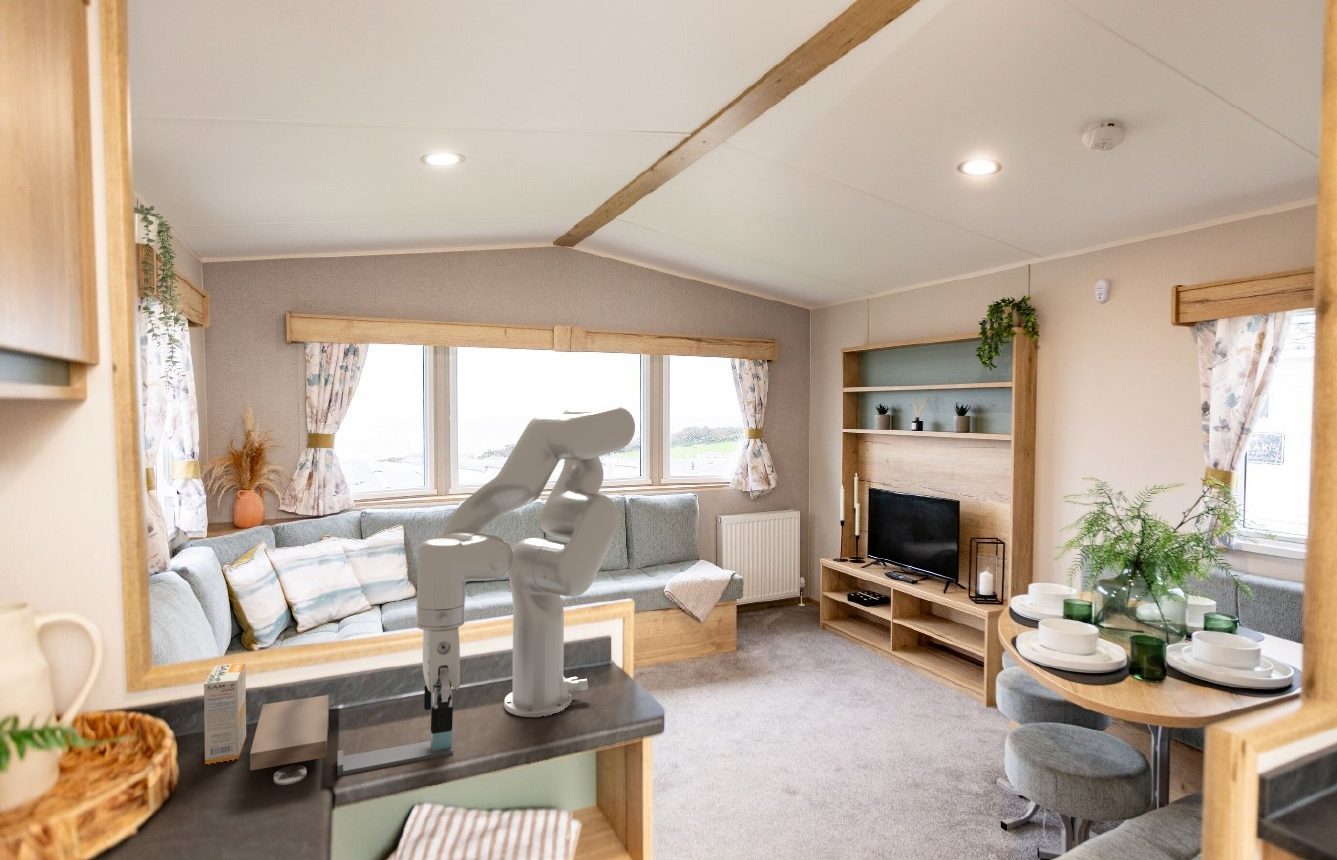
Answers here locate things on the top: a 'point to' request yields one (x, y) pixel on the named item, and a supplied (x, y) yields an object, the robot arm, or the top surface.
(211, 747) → the supplement box
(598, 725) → the top surface
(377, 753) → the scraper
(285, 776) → the steel token
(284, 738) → the low block
